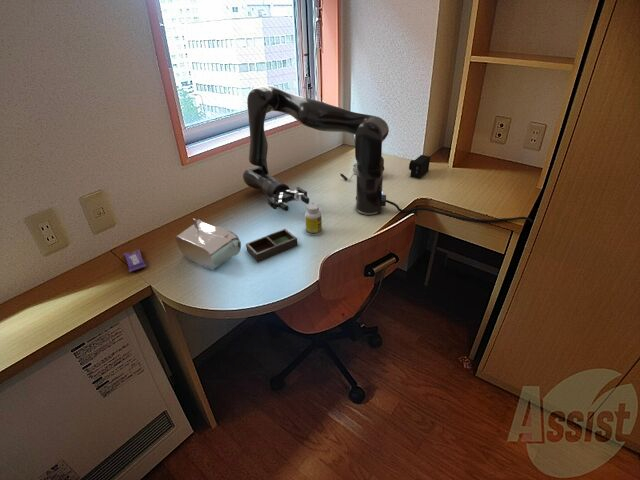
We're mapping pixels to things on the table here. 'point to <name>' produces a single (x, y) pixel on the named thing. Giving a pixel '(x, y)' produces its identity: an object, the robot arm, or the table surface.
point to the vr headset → (208, 244)
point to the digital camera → (419, 166)
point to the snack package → (134, 260)
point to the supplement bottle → (313, 220)
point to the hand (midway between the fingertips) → (298, 205)
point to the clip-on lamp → (353, 171)
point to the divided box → (271, 245)
